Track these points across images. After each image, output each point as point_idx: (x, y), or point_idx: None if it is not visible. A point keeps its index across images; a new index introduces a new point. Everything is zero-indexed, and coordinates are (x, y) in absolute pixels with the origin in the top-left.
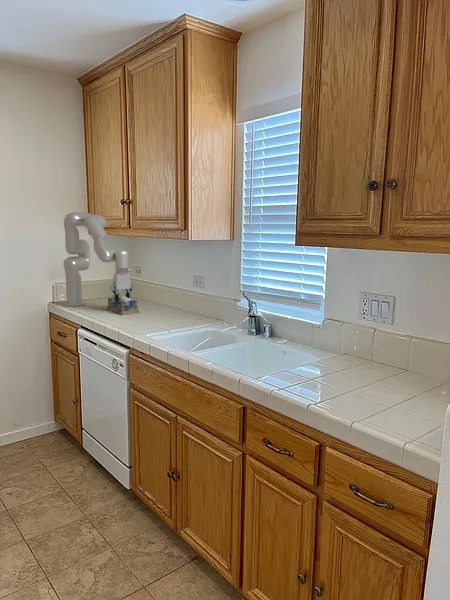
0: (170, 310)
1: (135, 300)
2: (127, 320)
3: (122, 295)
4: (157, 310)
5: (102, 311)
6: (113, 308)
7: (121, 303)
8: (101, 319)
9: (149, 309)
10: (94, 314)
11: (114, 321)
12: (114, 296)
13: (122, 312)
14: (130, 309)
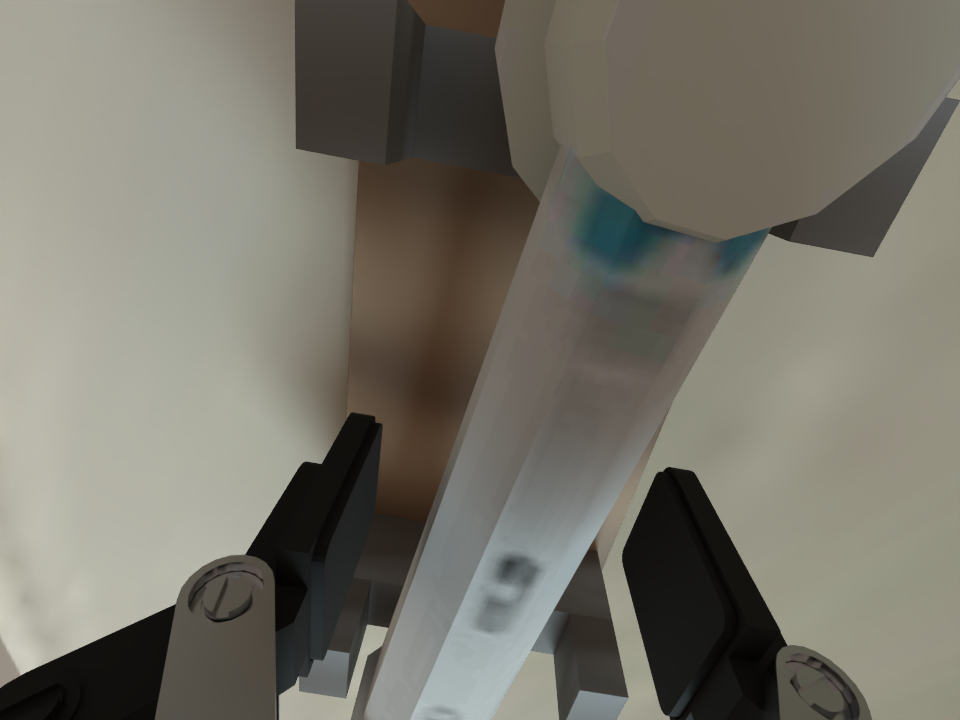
0: (951, 672)
1: (603, 716)
2: None
3: (519, 590)
4: (876, 594)
5: (238, 99)
6: (373, 294)
7: None
8: (51, 547)
9: (898, 494)
10: (29, 252)
11: None
12: (552, 80)
13: None
14: None
